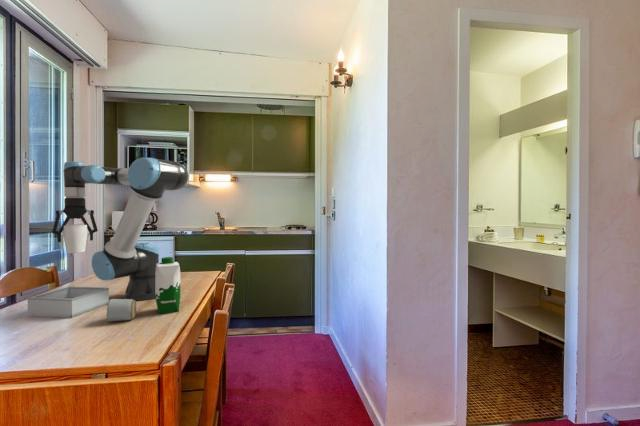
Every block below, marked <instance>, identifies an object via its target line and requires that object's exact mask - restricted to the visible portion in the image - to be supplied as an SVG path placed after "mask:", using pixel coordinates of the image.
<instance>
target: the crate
mask: <svg viewBox="0 0 640 426" xmlns="http://www.w3.org/2000/svg"><path fill="white" fill-rule="evenodd" d="M109 289H110V287H100V286H99V287H96V286H65V287H62V288H59V289H55V290H51V291H49V292H43V293H40V294H36V295H34V296H30V297H27V317H42V318H43V317H44V318H45V317H48V318H64V319H65V318H66V319H67V318H68V319H69V318H70V319H73V318H76V317H78V316H81V315H84V314H85V313H89V312H91V310H92V311H93V310H96V309H98V308H101V307H104V306H108V303H109V301H110V297H109V296H110V295H109V292H110V291H109Z"/></svg>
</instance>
